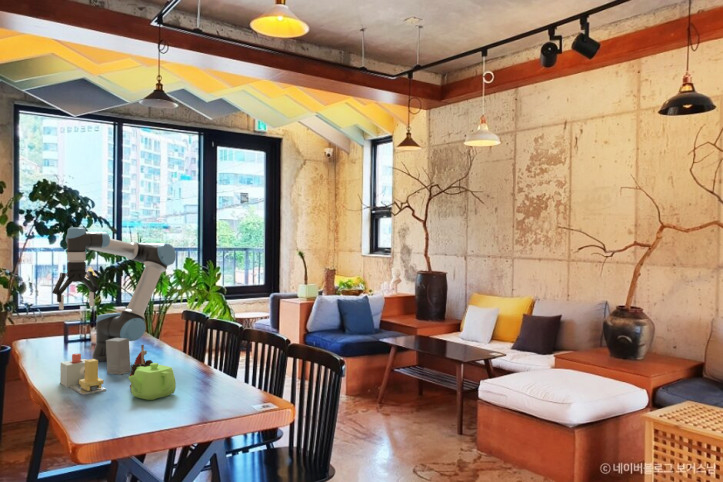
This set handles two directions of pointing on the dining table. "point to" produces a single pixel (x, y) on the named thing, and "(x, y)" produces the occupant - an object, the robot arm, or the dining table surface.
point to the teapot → (152, 381)
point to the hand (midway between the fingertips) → (76, 307)
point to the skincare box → (118, 356)
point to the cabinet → (72, 372)
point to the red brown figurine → (140, 361)
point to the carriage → (91, 375)
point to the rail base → (82, 391)
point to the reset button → (76, 358)
